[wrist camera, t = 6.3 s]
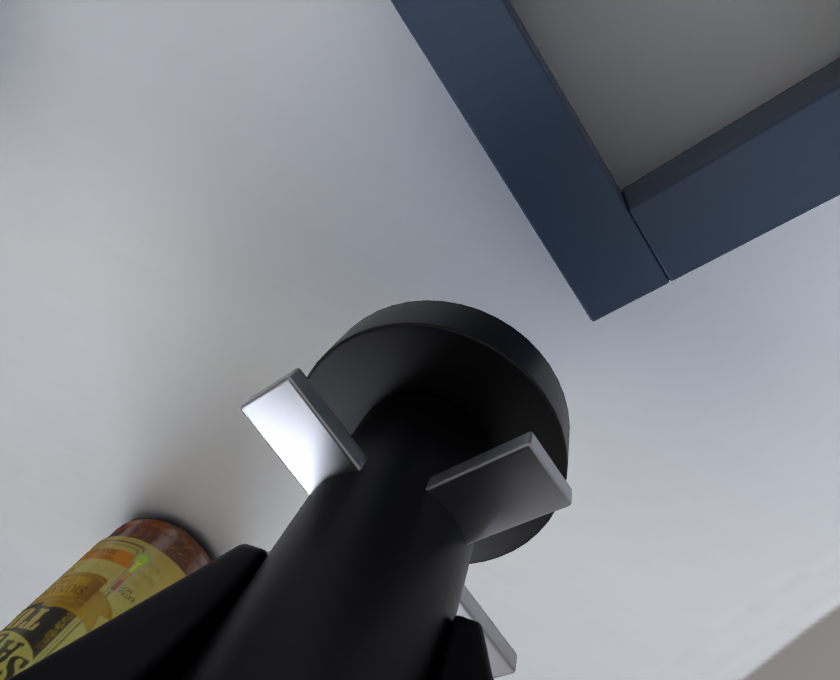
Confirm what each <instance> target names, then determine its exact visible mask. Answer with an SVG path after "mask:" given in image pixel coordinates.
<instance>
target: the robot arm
mask: <svg viewBox="0 0 840 680" xmlns="http://www.w3.org/2000/svg"><path fill="white" fill-rule="evenodd" d="M267 556H268V554H267V552H266V551H265V550H263V549H260V548H257V547H254V546H251V545H248V544H242V545H239V546H237V547H235V548H233V549H232V550H230V551H228V552H227V553H225V554H223V555H221V556H220V557H218V558H216V559H214V560H213V561H211V562H209V563H208V564H206V565H204V566H202V567H201V568H199V569H197V570H195V571H194V572H192V573H190V574H189V575H187V576H185V577H183V578H182V579H180V580H178V581H177V582H175V583H173V584H171V585H170V586H168V587H166V588H164V589H163V590H161V591H159V592H158V593H156V594H154V595H152V596H151V597H149V598H147V599H145V600H144V601H142V602H140V603H139V604H137V605H135V606H133V607H132V608H130V609H128V610H126V611H125V612H123V613H121V614H120V615H118V616H116V617H114V618H113V619H111V620H109V621H107V622H106V623H104V624H102V625H101V626H99V627H97V628H95V629H94V630H92V631H90V632H88V633H87V634H85V635H83V636H82V637H80V638H78V639H76V640H75V641H73V642H71V643H69V644H68V645H66V646H64V647H63V648H61V649H59V650H57V651H56V652H54V653H52V654H50V655H49V656H47V657H45V658H44V659H42V660H40V661H38V662H37V663H35V664H33V665H32V666H30V667H28V668H26V669H25V670H23V671H21V672H19V673H18V674H16V675H14V676H13V677H11V678H9V679H7V680H181V679H182V678H183V676H184V675H185V673H186V672H187V670H188V669H189V668H190V666H191V665H192V663H193V662H194V660H195V659H196V658H197V656H198V655H199V653H200V652H201V650H202V649H203V647H204V646H205V645H206V643H207V642H208V640H209V639H210V637H211V636H212V635H213V633H214V632H215V630H216V629H217V627H218V626H219V624H220V623H221V622H222V620H223V619H224V617H225V616H226V614H227V613H228V612H229V610H230V609H231V607H232V606H233V604H234V603H235V602H236V600H237V599H238V597H239V596H240V594H241V593H242V591H243V590H244V589H245V587H246V586H247V584H248V583H249V581H250V580H251V579H252V577H253V576H254V574H255V573H256V571H257V570H258V568H259V567H260V566H261V564H262V563H263V561H264V560H265V558H266V557H267ZM438 680H494V679H493V674H492V670H491V665H490V660H489V655H488V650H487V646H486V641H485V636H484V631H483V628H482V625H481V624H480V623H479V622H477V621H474V620H471V619H468V618H465V617H462V616H459V615H458V616H455V617H454V619H453V622H452V626H451V630H450V633H449V637H448V641H447V645H446V649H445V653H444V657H443V661H442V665H441V669H440V673H439V677H438Z"/></svg>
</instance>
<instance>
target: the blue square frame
mask: <svg viewBox="0 0 840 680" xmlns="http://www.w3.org/2000/svg"><path fill="white" fill-rule="evenodd" d="M391 2H392V3H393V5H394V6H395V8H396V10H397V11H398V13H399V14H400V16H401V18H402V19H403V21H404V22H405V24H406V26H407V27H408V29H409V30H410V32H411V34H412V35H413V37H414V38H415V40H416V42H417V43H418V45H419V46H420V48H421V50H422V51H423V53H424V54H425V56H426V58H427V59H428V61H429V62H430V64H431V66H432V67H433V69H434V70H435V72H436V73H437V75H438V77H439V78H440V80H441V81H442V83H443V85H444V86H445V88H446V89H447V91H448V93H449V94H450V96H451V97H452V99H453V101H454V102H455V104H456V105H457V107H458V109H459V110H460V112H461V113H462V115H463V117H464V118H465V120H466V121H467V123H468V125H469V126H470V128H471V129H472V131H473V133H474V134H475V136H476V137H477V139H478V140H479V142H480V144H481V145H482V147H483V148H484V150H485V152H486V153H487V155H488V156H489V158H490V160H491V161H492V163H493V164H494V166H495V168H496V169H497V171H498V172H499V174H500V176H501V177H502V179H503V180H504V182H505V184H506V185H507V187H508V188H509V190H510V192H511V193H512V195H513V196H514V198H515V200H516V201H517V203H518V204H519V206H520V208H521V209H522V211H523V212H524V214H525V215H526V217H527V219H528V220H529V222H530V223H531V225H532V227H533V228H534V230H535V231H536V233H537V235H538V236H539V238H540V239H541V241H542V243H543V244H544V246H545V247H546V249H547V251H548V252H549V254H550V255H551V257H552V259H553V260H554V262H555V263H556V265H557V267H558V268H559V270H560V271H561V273H562V275H563V276H564V278H565V279H566V281H567V283H568V284H569V286H570V287H571V289H572V290H573V292H574V294H575V295H576V297H577V298H578V300H579V302H580V303H581V305H582V306H583V308H584V310H585V311H586V313H587V314H588V316H589V318H590V319H591V320H592V321H595V320H597V319H599V318H601V317H603V316H605V315H607V314H609V313H611V312H613V311H615V310H617V309H619V308H621V307H623V306H624V305H626V304H628V303H630V302H632V301H634V300H636V299H638V298H640V297H642V296H644V295H646V294H648V293H650V292H652V291H654V290H656V289H657V288H659V287H661V286H663V285H665V284H667V283H668V282H669V280H670V281H672V280H675V279H677V278H679V277H681V276H683V275H685V274H686V273H688V272H690V271H692V270H694V269H696V268H698V267H700V266H702V265H704V264H706V263H708V262H710V261H712V260H714V259H716V258H718V257H719V256H721V255H723V254H725V253H727V252H729V251H731V250H733V249H735V248H737V247H739V246H741V245H743V244H745V243H747V242H749V241H751V240H753V239H754V238H756V237H758V236H760V235H762V234H764V233H766V232H768V231H770V230H772V229H774V228H776V227H778V226H780V225H782V224H784V223H786V222H787V221H789V220H791V219H793V218H795V217H797V216H799V215H801V214H803V213H805V212H807V211H809V210H811V209H813V208H815V207H817V206H819V205H820V204H822V203H824V202H826V201H828V200H830V199H832V198H834V197H836V196H838V195H840V58H839V59H837V60H835V61H834V62H832V63H830V64H829V65H827V66H825V67H824V68H822V69H820V70H819V71H817V72H815V73H814V74H812V75H811V76H809V77H807V78H806V79H804V80H802V81H801V82H799V83H797V84H796V85H794V86H792V87H791V88H789V89H787V90H786V91H784V92H782V93H781V94H779V95H778V96H776V97H774V98H773V99H771V100H769V101H768V102H766V103H764V104H763V105H761V106H759V107H758V108H756V109H754V110H753V111H751V112H749V113H748V114H746V115H745V116H743V117H741V118H740V119H738V120H736V121H735V122H733V123H731V124H730V125H728V126H726V127H725V128H723V129H721V130H720V131H718V132H716V133H715V134H713V135H712V136H710V137H708V138H707V139H705V140H703V141H702V142H700V143H698V144H697V145H695V146H693V147H692V148H690V149H688V150H687V151H685V152H683V153H682V154H680V155H679V156H677V157H675V158H674V159H672V160H670V161H669V162H667V163H665V164H664V165H662V166H660V167H659V168H657V169H655V170H654V171H652V172H650V173H649V174H647V175H645V176H644V177H642V178H641V179H639V180H637V181H636V182H634V183H632V184H631V185H629V186H627V187H626V188H624V189H623V190H622V192H621V190H620V189H619V187H618V185H617V183H616V182H615V180H614V178H613V177H612V175H611V173H610V171H609V170H608V168H607V166H606V165H605V163H604V161H603V160H602V158H601V156H600V154H599V153H598V151H597V149H596V148H595V146H594V144H593V143H592V141H591V139H590V137H589V136H588V134H587V132H586V131H585V129H584V127H583V126H582V124H581V122H580V120H579V119H578V117H577V115H576V114H575V112H574V110H573V109H572V107H571V105H570V103H569V102H568V100H567V98H566V97H565V95H564V93H563V91H562V90H561V88H560V86H559V85H558V83H557V81H556V80H555V78H554V76H553V74H552V73H551V71H550V69H549V68H548V66H547V64H546V63H545V61H544V59H543V57H542V56H541V54H540V52H539V51H538V49H537V47H536V46H535V44H534V42H533V40H532V39H531V37H530V35H529V34H528V32H527V30H526V29H525V27H524V25H523V23H522V22H521V20H520V18H519V17H518V15H517V13H516V11H515V10H514V8H513V6H512V5H511V3H510V1H509V0H391Z"/></svg>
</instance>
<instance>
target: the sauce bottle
mask: <svg viewBox="0 0 840 680" xmlns="http://www.w3.org/2000/svg"><path fill="white" fill-rule="evenodd" d="M211 561H212V560H211V559H210V557H209V556H208V555H207V554H206V552H205V550H204V549H203V548H202V547H201V546H200V545H199V544H198V543H197V542H196V541H195V539H193V538H192V537H191V536H190V535H189V534H188V533H187V532H186V531H184V530H183V529H181V528H179V527H177V526H174V525H172V524H171V523H167V522H164V521H161V520H155V519H149V518H147V519H146V518H145V519H138V520H136V519H135V520H132V521H131V522H129V523H126V524H124V525H122V526H121V527H120V528H118V529H117V530H116V531H114V532H113V533H112V534H111V535H110V536H109V537H107V538H105V539H103V540H101V541H100V542H99V543H97V544H96V545H95V546H94V547H93V548H92V549H91V550H90V551H89V552H87V553H86V554H85V555H84V556H83V557H82V558H81V559H80V560H79V561H78V562H77V563H76V564H74V565H73V566H72V567H71V568H70V569H69V570H68V571H67V572H65V573H64V574H63V575H62V576H61V577H60V578H59V579H58V580H57V581H56V582H55V583H53V584H52V585H51V586H50V587H49V588H48V589H47V590H46V591H45V592H44V593H42V594H41V595H40V596H39V597H38V598H37V599H36V600H35V601H34V602H32V603H31V604H30V605H29V606H28V607H27V608H26V609H25V610H23V611H22V612H21V613H20V614H19V615H18V616H17V617H16V618H15V619H14V620H13V621H12V622H11V623H9V624H8V625H7V626H6V627H5V628H4V629H3V630H2V631H0V680H7V679H9V678H11V677H13V676H14V675H16V674H18V673H19V672H21V671H23V670H25V669H26V668H28V667H30V666H32V665H33V664H35V663H37V662H38V661H40V660H42V659H44V658H45V657H47V656H49V655H50V654H52V653H54V652H56V651H57V650H59V649H61V648H63V647H64V646H66V645H68V644H69V643H71V642H73V641H75V640H76V639H78V638H80V637H82V636H83V635H85V634H87V633H88V632H90V631H92V630H94V629H95V628H97V627H99V626H101V625H102V624H104V623H106V622H107V621H109V620H111V619H113V618H114V617H116V616H118V615H120V614H121V613H123V612H125V611H126V610H128V609H130V608H132V607H133V606H135V605H137V604H139V603H140V602H142V601H144V600H145V599H147V598H149V597H151V596H152V595H154V594H156V593H158V592H159V591H161V590H163V589H164V588H166V587H168V586H170V585H171V584H173V583H175V582H177V581H178V580H180V579H182V578H183V577H185V576H187V575H189V574H190V573H192V572H194V571H195V570H197V569H199V568H201V567H202V566H204V565H206V564H208V563H209V562H211Z"/></svg>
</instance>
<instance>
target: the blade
mask: <svg viewBox="0 0 840 680" xmlns="http://www.w3.org/2000/svg"><path fill="white" fill-rule="evenodd" d="M241 410H242V411H243V413H244V414H245V415H246V416H247V418H248V419H249V420H250V422H251V423H252V424H253V425H254V427H255V428H256V429H257V430H258V432H259V433H260V434H261V435H262V437H263V438H264V439H265V440H266V442H267V443H268V444H269V445H270V447H271V448H272V449H273V450H274V452H275V453H276V454H277V456H278V457H279V458H280V459H281V461H282V462H283V463H284V464H285V466H286V467H287V468H288V469H289V471H290V472H291V473H292V474H293V476H294V477H295V478H296V479H297V481H298V482H299V483H300V484H301V486H302V487H303V488H304V489H305V491H306V492H307V493H308V495H309V497H308V498H307V499H306V501H305V502H304V504H303V505H302V507H301V508H300V510H299V511H298V512H297V514H296V515H295V517H294V518H293V520H292V521H291V522H290V524H289V525H288V527H287V528H286V530H285V531H284V533H283V534H282V535H281V537H280V538H279V540H278V541H277V543H276V544H275V545H274V547H273V548H272V550H271V551H269V552H267V554H268V556H267V557H266V558H265V560H264V561H263V563H262V564H261V566H260V567H259V568H258V570H257V571H256V573H255V574H254V576H253V577H252V579H251V580H250V581H249V583H248V584H247V586H246V587H245V589H244V590H243V591H242V593H241V594H240V596H239V597H238V599H237V600H236V602H235V603H234V604H233V606H232V607H231V609H230V610H229V612H228V613H227V614H226V616H225V617H224V619H223V620H222V622H221V623H220V624H219V626H218V627H217V629H216V630H215V632H214V633H213V635H212V636H211V637H210V639H209V640H208V642H207V643H206V645H205V646H204V647H203V649H202V650H201V652H200V653H199V655H198V656H197V658H196V659H195V660H194V662H193V663H192V665H191V666H190V668H189V669H188V670H187V672H186V673H185V675H184V676H183V678H182V679H181V680H438V677H439V673H440V669H441V665H442V661H443V657H444V653H445V649H446V645H447V641H448V637H449V633H450V630H451V626H452V622H453V619H454V617H455V616H458V615H459V616H462V617H465V618H468V619H471V620H474V621H477V622H479V623H480V624H481V625H482V628H483V631H484V636H485V641H486V646H487V650H488V655H489V660H490V665H491V670H492V674H493V678H496V677H500V676H504V675H508V674H512V673H514V672H515V668H516V660H517V654H516V652H515V651H514V650H513V648H512V647H511V646H510V644H509V643H508V642H507V641H506V639H505V638H504V637H503V635H502V634H501V633H500V631H499V630H498V629H497V627H496V626H495V625H494V623H493V622H492V621H491V619H490V618H489V617H488V616H487V614H486V613H485V612H484V610H483V609H482V608H481V606H480V605H479V604H478V602H477V601H476V600H475V598H474V597H473V596H472V594H471V593H470V592H469V591H468V589H467V588H466V587H465V585H464V582H465V578H466V574H467V570H468V566H469V564H472V563H478V562H484V561H487V560H491V559H494V558H498V557H500V556H503V555H505V554H507V553H510V552H512V551H514V550H515V549H517V548H519V547H520V546H522V545H524V544H525V543H527V542H528V541H529V540H530V539H531V538H533V537H534V536H535V535H536V534H537V533H538V532H539V531H540V530H541V529H542V528H543V527H544V526H545V525H546V523H547V522H548V521H549V520H550V518H551V517H552V515H553V513H554V512H555V511H556V510H559V509H562V508H564V507H567V506H569V505H571V501H572V489H571V488H570V486H569V485H568V483H567V482H566V479H567V468H568V450H569V430H570V425H569V414H568V408H567V404H566V400H565V396H564V393H563V391H562V388H561V386H560V383H559V381H558V379H557V377H556V375H555V373H554V372H553V370H552V368H551V366H550V365H549V363H548V362H547V361H546V360H545V358H544V357H543V356H542V354H541V353H540V352H539V351H538V350H537V349H536V347H535V346H534V345H533V344H532V343H531V342H530V341H529V340H528V339H527V338H525V337H524V336H523V335H522V334H520V333H519V332H518V331H516V330H515V329H514V328H513V327H511V326H510V325H508V324H506V323H505V322H503V321H501V320H500V319H498V318H496V317H494V316H492V315H490V314H487V313H485V312H483V311H481V310H478V309H475V308H472V307H468V306H465V305H462V304H457V303H451V302H445V301H429V300H424V301H412V302H405V303H401V304H396V305H392V306H389V307H387V308H384V309H381V310H379V311H376V312H375V313H373V314H371V315H369V316H367V317H365V318H364V319H362V320H361V321H360V322H358V323H357V324H356V325H354V326H353V327H352V328H351V329H350V330H349V331H348V332H347V333H346V334H345V335H344V336H343V337H342V338H341V339H339V340H338V341H337V342H336V343H335V344H334V345H333V346H332V347H331V348H330V349H329V350H328V351H327V352H326V353H325V354H324V355H323V356H322V357H321V359H320V360H319V361H318V362H317V363H316V364H315V366H314V367H313V369H312V370H311V372H310V373H309V375H308V377H306V376H305V375H304V373H303V372H302V371H301V369H299V368H297V369H295V370H293V371H292V372H290V373H288V374H287V375H285V376H284V377H282V378H281V379H279V380H277V381H276V382H274V383H273V384H271V385H270V386H268V387H266V388H265V389H263V390H262V391H260V392H259V393H257V394H255V395H254V396H252V397H251V398H250V399H249V400H248V401H246V402H245V403H244V404H243V405H242V406H241Z"/></svg>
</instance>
